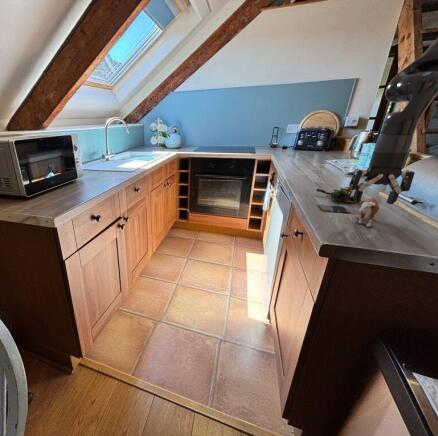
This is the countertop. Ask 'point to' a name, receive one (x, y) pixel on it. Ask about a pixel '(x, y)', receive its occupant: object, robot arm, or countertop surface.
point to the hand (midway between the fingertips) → (372, 202)
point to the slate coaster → (333, 208)
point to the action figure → (341, 194)
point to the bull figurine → (368, 210)
